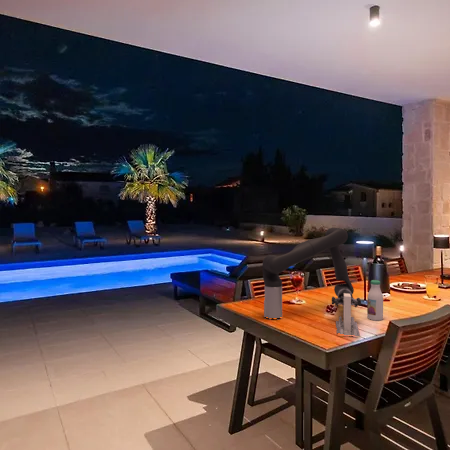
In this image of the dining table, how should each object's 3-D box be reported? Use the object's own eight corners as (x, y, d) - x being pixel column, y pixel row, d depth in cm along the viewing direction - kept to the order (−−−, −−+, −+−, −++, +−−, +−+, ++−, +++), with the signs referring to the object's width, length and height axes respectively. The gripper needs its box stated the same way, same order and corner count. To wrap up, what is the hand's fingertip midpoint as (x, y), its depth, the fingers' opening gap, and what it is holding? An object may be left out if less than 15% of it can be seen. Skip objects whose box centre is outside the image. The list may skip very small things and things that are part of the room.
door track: (337, 336, 184) (337, 328, 183) (335, 322, 203) (335, 316, 203) (360, 337, 181) (360, 330, 181) (356, 324, 201) (356, 317, 200)
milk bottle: (379, 316, 213) (379, 279, 211) (385, 320, 205) (386, 282, 204) (364, 316, 212) (365, 279, 211) (370, 321, 205) (371, 282, 203)
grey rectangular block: (344, 329, 189) (344, 296, 188) (343, 325, 195) (343, 293, 194) (350, 330, 189) (351, 296, 188) (349, 326, 195) (350, 293, 193)
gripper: (331, 289, 214) (331, 296, 199) (359, 290, 211) (361, 298, 195) (331, 303, 215) (331, 311, 199) (359, 304, 212) (361, 313, 196)
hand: (346, 304), depth 197 cm, fingers open, 8 cm apart
